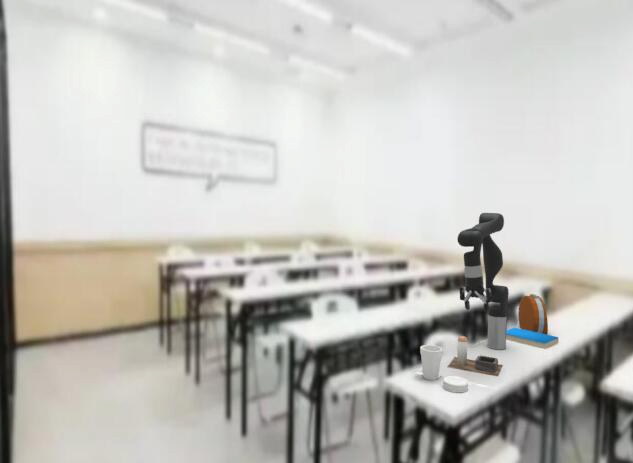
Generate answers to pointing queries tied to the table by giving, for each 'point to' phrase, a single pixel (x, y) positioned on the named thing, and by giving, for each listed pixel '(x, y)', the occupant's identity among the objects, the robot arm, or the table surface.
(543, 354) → the table surface
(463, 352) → the orange-capped post
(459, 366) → the jig board
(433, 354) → the foam cup
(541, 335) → the book
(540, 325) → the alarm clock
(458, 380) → the coaster
